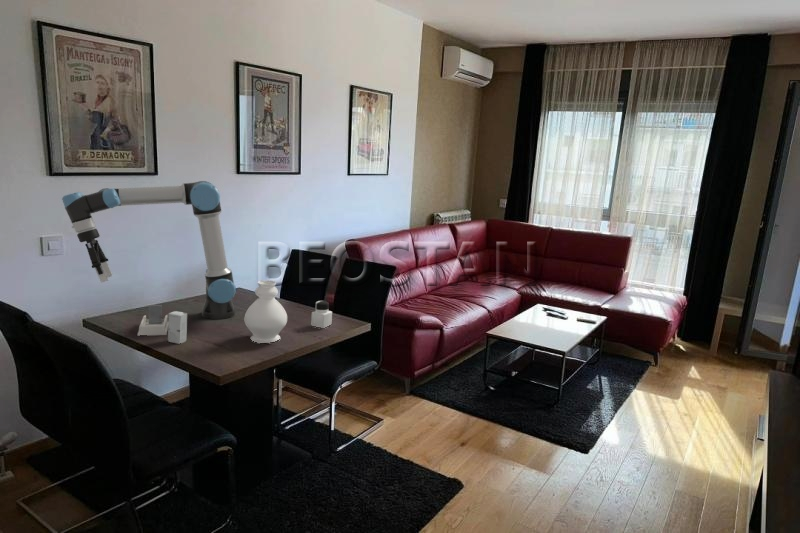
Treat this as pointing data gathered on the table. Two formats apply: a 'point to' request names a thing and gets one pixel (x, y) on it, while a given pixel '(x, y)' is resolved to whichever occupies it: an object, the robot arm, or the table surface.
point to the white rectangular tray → (153, 327)
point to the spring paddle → (155, 313)
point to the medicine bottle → (321, 315)
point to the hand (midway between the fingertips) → (107, 279)
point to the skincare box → (177, 327)
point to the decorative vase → (265, 314)
